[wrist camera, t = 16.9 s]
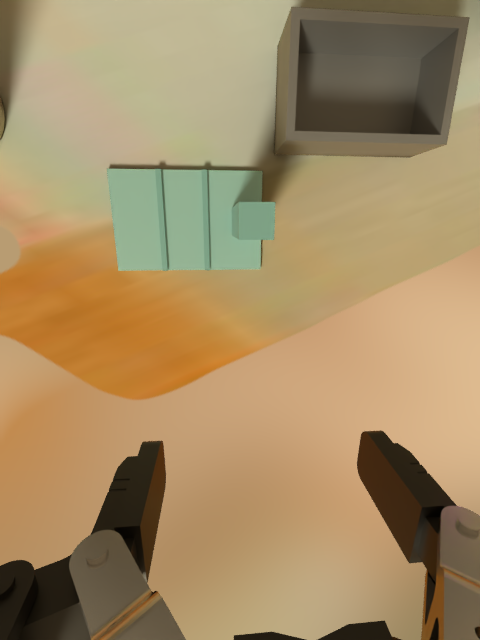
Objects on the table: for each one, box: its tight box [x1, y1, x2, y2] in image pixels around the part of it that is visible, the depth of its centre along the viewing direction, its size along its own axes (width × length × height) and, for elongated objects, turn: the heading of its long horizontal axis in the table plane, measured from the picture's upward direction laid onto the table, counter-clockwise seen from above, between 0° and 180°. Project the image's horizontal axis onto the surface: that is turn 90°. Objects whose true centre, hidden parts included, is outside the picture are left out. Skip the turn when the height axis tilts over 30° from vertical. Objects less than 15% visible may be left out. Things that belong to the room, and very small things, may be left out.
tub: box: [274, 7, 469, 157], centre depth 31 cm, size 16×10×6 cm, turn 90°
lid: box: [107, 169, 275, 271], centre depth 31 cm, size 17×11×12 cm, turn 90°
